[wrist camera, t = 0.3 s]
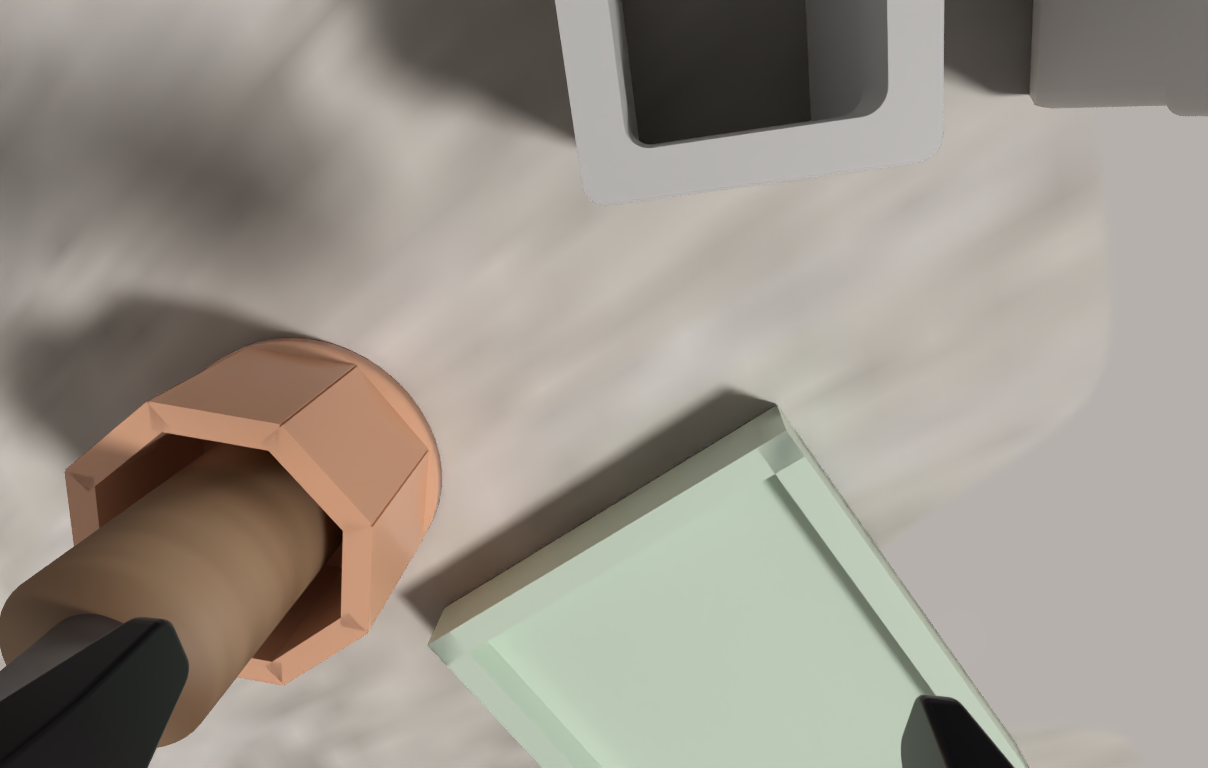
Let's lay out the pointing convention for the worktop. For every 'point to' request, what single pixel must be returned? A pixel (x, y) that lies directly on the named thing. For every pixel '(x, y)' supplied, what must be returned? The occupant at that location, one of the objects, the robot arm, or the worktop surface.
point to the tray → (710, 627)
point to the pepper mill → (180, 576)
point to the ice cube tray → (871, 89)
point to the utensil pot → (314, 459)
